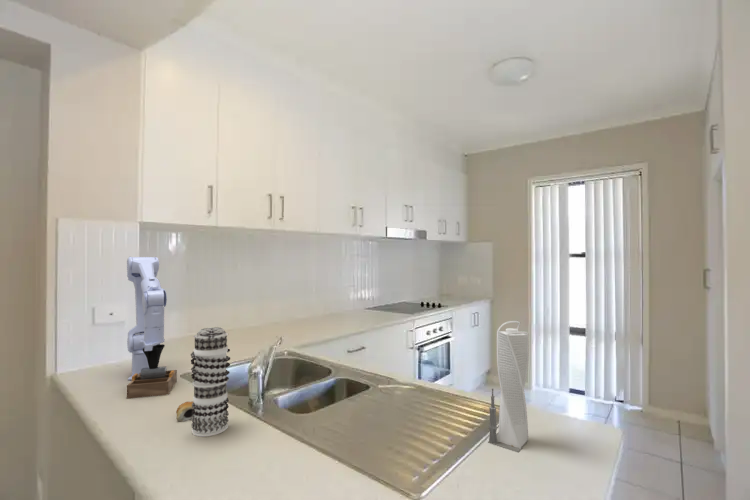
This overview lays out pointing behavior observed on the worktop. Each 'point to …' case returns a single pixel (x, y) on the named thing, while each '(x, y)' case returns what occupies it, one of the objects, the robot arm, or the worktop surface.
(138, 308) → the robot arm
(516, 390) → the skyscraper
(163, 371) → the panel
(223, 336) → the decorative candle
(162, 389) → the rack
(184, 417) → the pastry
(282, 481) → the worktop surface
